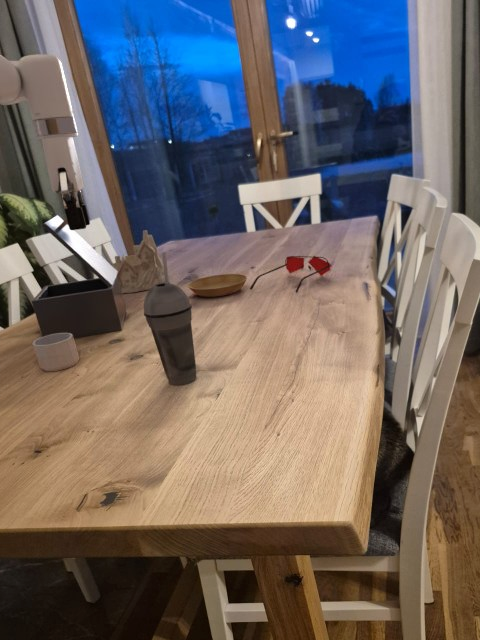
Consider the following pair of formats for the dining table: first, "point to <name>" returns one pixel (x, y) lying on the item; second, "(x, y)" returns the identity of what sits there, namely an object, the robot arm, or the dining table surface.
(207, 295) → the plant saucer
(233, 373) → the dining table surface
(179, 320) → the beverage cup
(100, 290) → the dark grey open box
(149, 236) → the ceramic cottage
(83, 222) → the robot arm
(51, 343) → the ceramic bowl
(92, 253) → the grey box lid
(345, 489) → the dining table surface
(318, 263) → the glasses
